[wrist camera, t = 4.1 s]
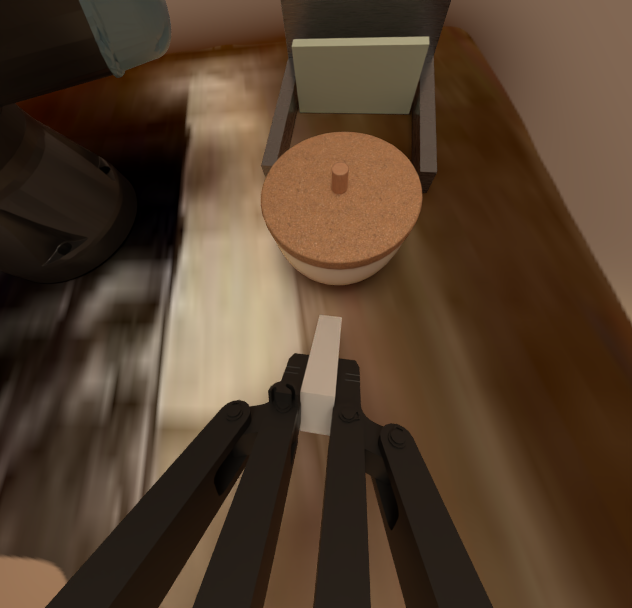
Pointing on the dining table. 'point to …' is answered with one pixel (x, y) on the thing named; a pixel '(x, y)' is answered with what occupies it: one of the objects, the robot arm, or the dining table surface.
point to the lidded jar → (341, 205)
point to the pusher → (358, 74)
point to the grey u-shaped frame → (363, 22)
